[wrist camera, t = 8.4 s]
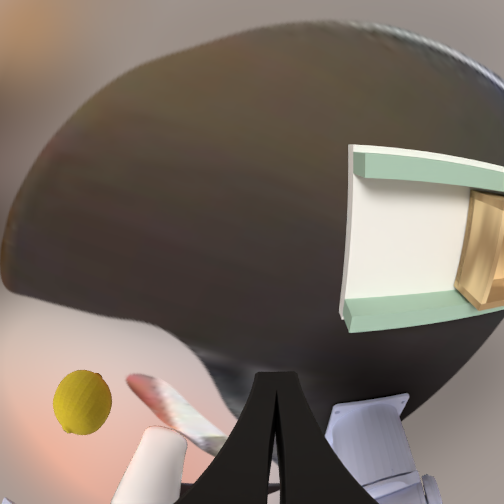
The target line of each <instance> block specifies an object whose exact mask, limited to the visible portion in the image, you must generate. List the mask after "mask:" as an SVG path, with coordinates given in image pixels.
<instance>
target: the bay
mask: <svg viewBox="0 0 504 504" xmlns="http://www.w3.org/2000/svg"><path fill="white" fill-rule="evenodd" d="M470 190H477V191H484V192H491V193H498V194H504V167H502V166H498V165H494V164H489V163H485V162H480V161H476V160H471V159H466V158H461V157H455V156H450V155H444V154H438V153H431V152H424V151H417V150H409V149H400V148H390V147H380V146H367V145H348V209H347V230H346V245H345V258H344V269H343V280H342V289H341V298H340V306H339V313H340V316H341V319H344V320H345V322H346V325H347V328H348V331H349V333H354V332H365V331H376V330H385V329H394V328H402V327H410V326H417V325H424V324H431V323H437V322H443V321H449V320H455V319H460V318H466V317H471V316H476V315H480V314H485V313H490V312H494V311H499V310H503V309H504V306H500V307H496V308H491V309H486V310H481V311H478V310H477V309H476V308H475V307H474V306H473V305H472V304H471V303H470V302H469V301H468V300H467V299H466V298H465V297H464V296H463V295H462V294H461V293H460V292H459V291H458V290H457V289H456V288H455V287H454V282H455V279H456V275H457V270H458V266H459V262H460V257H461V252H462V247H463V242H464V236H465V230H466V224H467V217H468V209H469V200H470Z"/></svg>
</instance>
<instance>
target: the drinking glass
mask: <svg viewBox="0 0 504 504" xmlns="http://www.w3.org/2000/svg"><path fill="white" fill-rule="evenodd" d="M186 449H187V441H186V439H185V438H184V437H183V436H182V435H181V434H179V433H178V432H176V431H174V430H172V429H169V428H166V427H162V426H150V427H148V428H146V430H145V431H144V433H143V436H142V439H141V441H140V443H139V445H138V447H137V449H136V451H135V454H134V455H133V457H132V460H131V461H130V464H129V466H128V467H127V470H126V472H125V474H124V476H123V478H122V480H121V482H120V484H119V486H118V488H117V490H116V492H115V494H114V496H113V498H112V501H111V504H173V503H175V502H176V501H177V500H178V499H179V496H180V487H181V479H182V472H183V465H184V458H185V454H186Z"/></svg>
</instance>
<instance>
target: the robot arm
mask: <svg viewBox="0 0 504 504" xmlns="http://www.w3.org/2000/svg"><path fill="white" fill-rule="evenodd" d="M408 399H409V394H408V393H404V394H399V395H394V396H389V397H383V398H377V399H371V400H364V401H357V402H349V403H340V404H336V405H334V406H333V409H332V413H331V416H330V420H329V423H328V427H327V430H326V433H325V436H324V434H323V433H322V431H321V429H320V427H319V426H318V424H317V422H316V420H315V418H314V416H313V414H312V412H311V410H310V408H309V405H308V403H307V401H306V398H305V396H304V394H303V391H302V388H301V385H300V382H299V379H298V375H297V373H296V372H258V373H256V374H255V378H254V382H253V386H252V389H251V392H250V395H249V397H248V400H247V402H246V404H245V407H244V409H243V411H242V413H241V415H240V417H239V419H238V421H237V423H236V425H235V427H234V429H233V430H232V432H231V434H230V435H229V437H228V439H227V440H226V442H225V444H224V445H223V447H222V448H221V450H220V451H219V453H218V454H217V456H216V457H215V458H214V460H213V461H212V462H211V464H210V465H209V466H208V468H207V469H206V470H205V471H204V472H203V474H202V475H201V476H200V477H199V478H198V480H197V481H196V482H195V483H194V484H193V485H192V486H191V487H190V488H189V489H188V490H187V491H186V492H185V493H184V494H183V495H182V496H181V497H180V498H179V499H178V500H177V501H176V502H175V503H173V504H267V497H268V483H269V475H270V467H271V461H272V453H273V445H274V437H275V434H276V444H277V455H278V466H279V477H280V504H443V503H442V499H441V495H440V492H439V489H438V486H437V483H436V480H435V478H434V477H433V476H429V475H428V474H426V475H424V476H422V480H423V484H424V485H423V487H424V490H425V495H424V491H423V488H422V484H421V480H420V477H419V474H418V471H417V470H416V467H415V463H414V460H413V457H412V454H411V450H410V447H409V444H408V441H407V438H406V435H405V432H404V429H403V426H402V423H401V420H400V417H399V416H400V414H401V412H402V410H403V409H404V407H405V405H406V403H407V401H408ZM2 504H15V503H14V502H12V501H11V500H9V499H8V498H6V497H5V498H4V500H3V502H2Z"/></svg>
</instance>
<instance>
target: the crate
mask: <svg viewBox="0 0 504 504" xmlns="http://www.w3.org/2000/svg"><path fill="white" fill-rule="evenodd" d="M454 287H455V288H456V289H457V290H458V291H459V292H460V293H461V294H462V295H463V296H464V297H465V298H466V299H467V300H468V301H469V302H470V303H471V304H472V305H473V306H474V307H475V308H476V309H477V310H478V311H481V310H486V309H491V308H496V307H500V306H504V194H498V193H491V192H484V191H477V190H470V200H469V209H468V217H467V224H466V230H465V236H464V242H463V247H462V252H461V257H460V262H459V266H458V270H457V275H456V279H455V282H454Z"/></svg>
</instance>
